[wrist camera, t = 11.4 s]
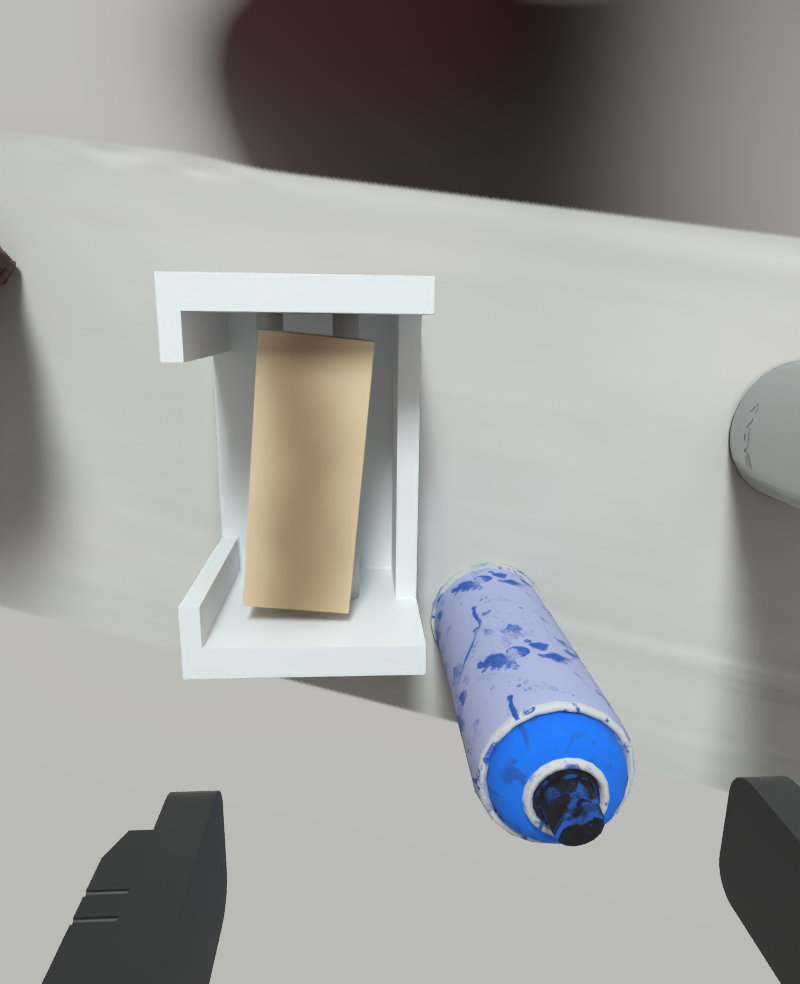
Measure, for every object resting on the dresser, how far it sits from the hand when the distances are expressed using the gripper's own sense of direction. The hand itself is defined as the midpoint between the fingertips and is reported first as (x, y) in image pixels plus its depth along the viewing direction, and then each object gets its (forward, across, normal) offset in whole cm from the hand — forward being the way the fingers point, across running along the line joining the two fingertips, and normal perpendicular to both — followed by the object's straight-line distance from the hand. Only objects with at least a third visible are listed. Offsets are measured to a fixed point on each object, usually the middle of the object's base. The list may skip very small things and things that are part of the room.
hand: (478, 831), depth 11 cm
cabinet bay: (+34, +4, 0) cm, 34 cm away
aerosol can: (+34, -7, +12) cm, 37 cm away
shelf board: (+28, +4, 0) cm, 28 cm away
